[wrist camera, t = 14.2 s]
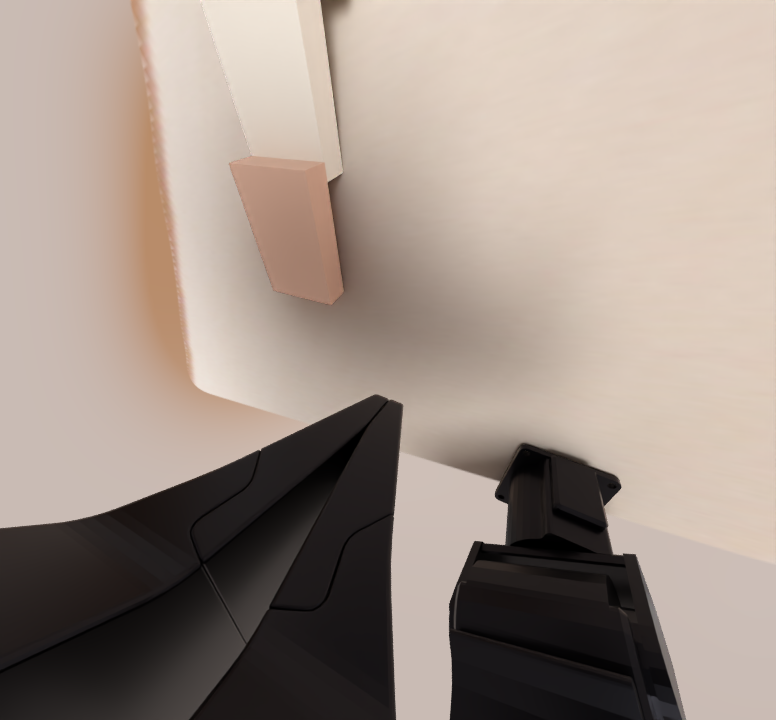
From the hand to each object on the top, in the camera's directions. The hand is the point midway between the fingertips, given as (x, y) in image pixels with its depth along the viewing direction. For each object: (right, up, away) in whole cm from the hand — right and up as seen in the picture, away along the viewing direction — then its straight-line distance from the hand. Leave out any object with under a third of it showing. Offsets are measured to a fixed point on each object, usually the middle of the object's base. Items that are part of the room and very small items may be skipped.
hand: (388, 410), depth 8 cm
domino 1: (-5, +13, +9) cm, 17 cm away
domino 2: (-6, +6, +13) cm, 16 cm away
